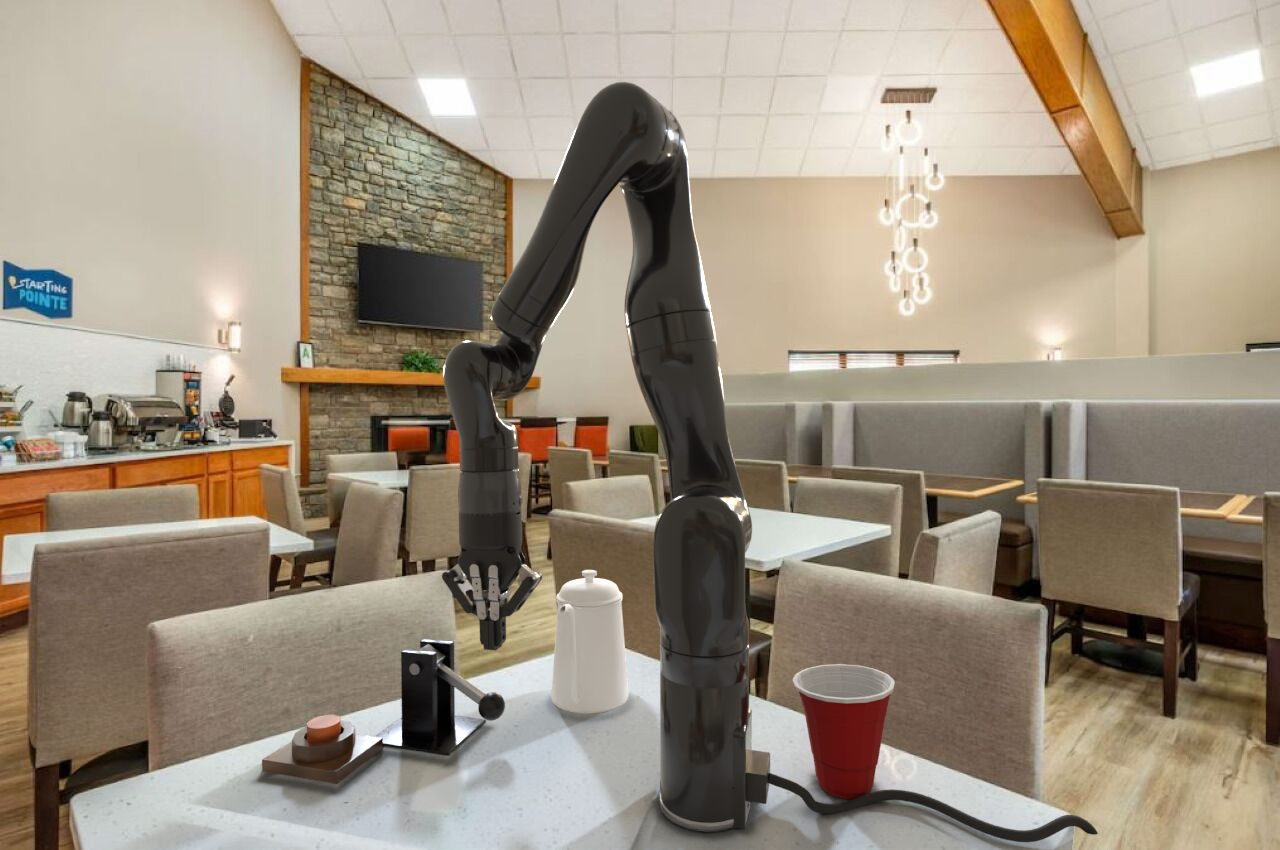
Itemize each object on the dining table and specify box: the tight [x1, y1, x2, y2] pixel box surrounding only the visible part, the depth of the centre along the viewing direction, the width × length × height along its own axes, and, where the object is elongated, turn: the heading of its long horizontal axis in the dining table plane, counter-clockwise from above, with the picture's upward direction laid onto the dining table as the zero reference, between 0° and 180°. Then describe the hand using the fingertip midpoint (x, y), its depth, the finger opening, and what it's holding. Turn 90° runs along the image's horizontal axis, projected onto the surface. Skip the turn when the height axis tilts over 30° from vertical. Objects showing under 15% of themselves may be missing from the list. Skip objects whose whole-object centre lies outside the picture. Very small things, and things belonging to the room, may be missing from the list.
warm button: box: [306, 714, 342, 742], centre depth 78 cm, size 4×4×2 cm
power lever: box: [417, 644, 506, 721], centre depth 83 cm, size 13×3×3 cm, turn 75°
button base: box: [261, 720, 384, 785], centre depth 78 cm, size 10×8×4 cm
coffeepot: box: [551, 569, 629, 714], centre depth 95 cm, size 11×25×19 cm, turn 168°
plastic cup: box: [792, 663, 896, 800], centre depth 74 cm, size 11×11×12 cm
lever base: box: [374, 638, 487, 757], centre depth 85 cm, size 11×9×12 cm
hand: (493, 647), depth 82 cm, fingers closed
